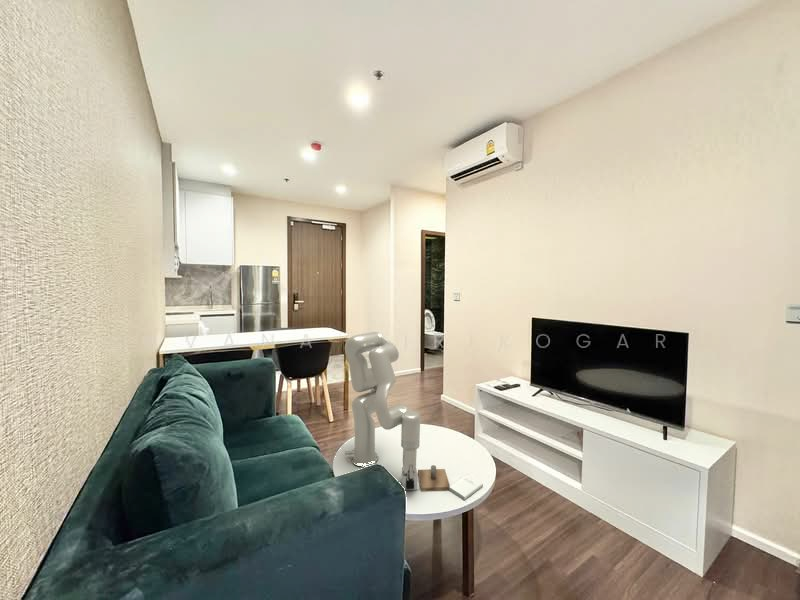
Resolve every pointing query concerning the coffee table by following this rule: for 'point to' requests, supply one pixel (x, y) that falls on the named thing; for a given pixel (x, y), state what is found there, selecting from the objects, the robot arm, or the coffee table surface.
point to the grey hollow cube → (404, 477)
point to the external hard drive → (465, 487)
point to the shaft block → (433, 479)
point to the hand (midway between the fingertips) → (409, 482)
